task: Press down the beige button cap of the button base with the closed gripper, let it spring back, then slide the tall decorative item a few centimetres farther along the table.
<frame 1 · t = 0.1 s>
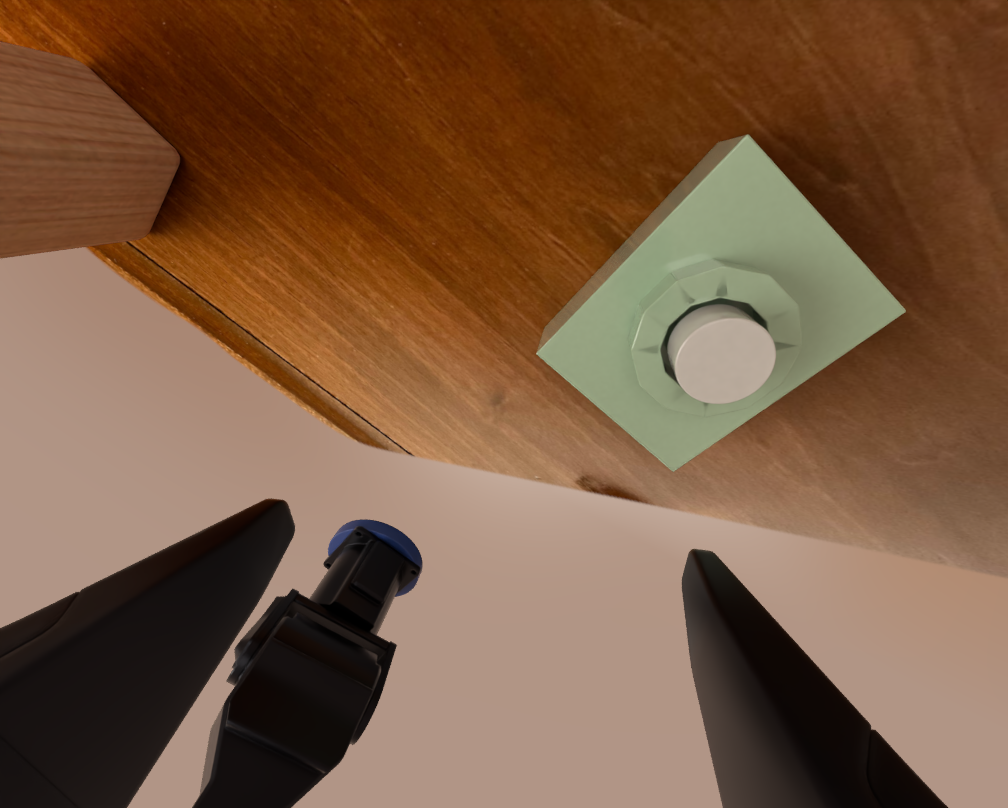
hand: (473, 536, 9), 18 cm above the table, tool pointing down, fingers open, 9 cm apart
button base: (685, 310, 23), on the table
beige button cap: (717, 354, 17), point 7 cm above the table, slide at 0.1 cm
decorative item: (123, 157, 25), on the table
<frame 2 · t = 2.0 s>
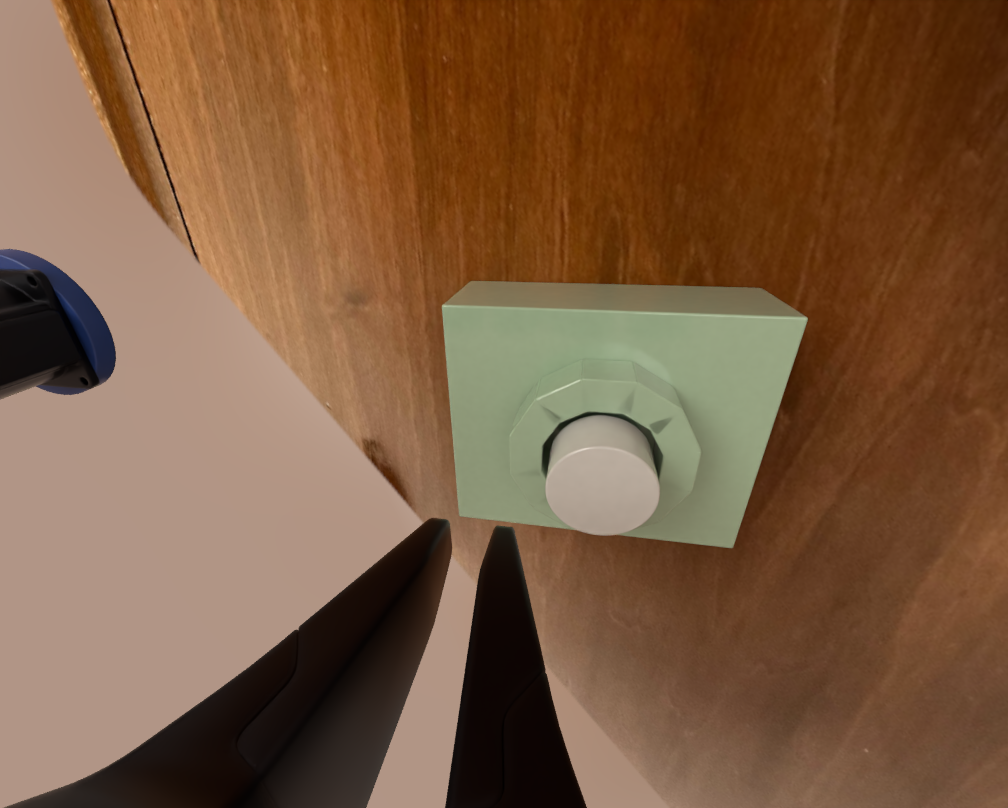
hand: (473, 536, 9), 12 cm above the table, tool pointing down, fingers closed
button base: (597, 390, 20), on the table
beige button cap: (600, 475, 14), point 7 cm above the table, slide at 0.1 cm
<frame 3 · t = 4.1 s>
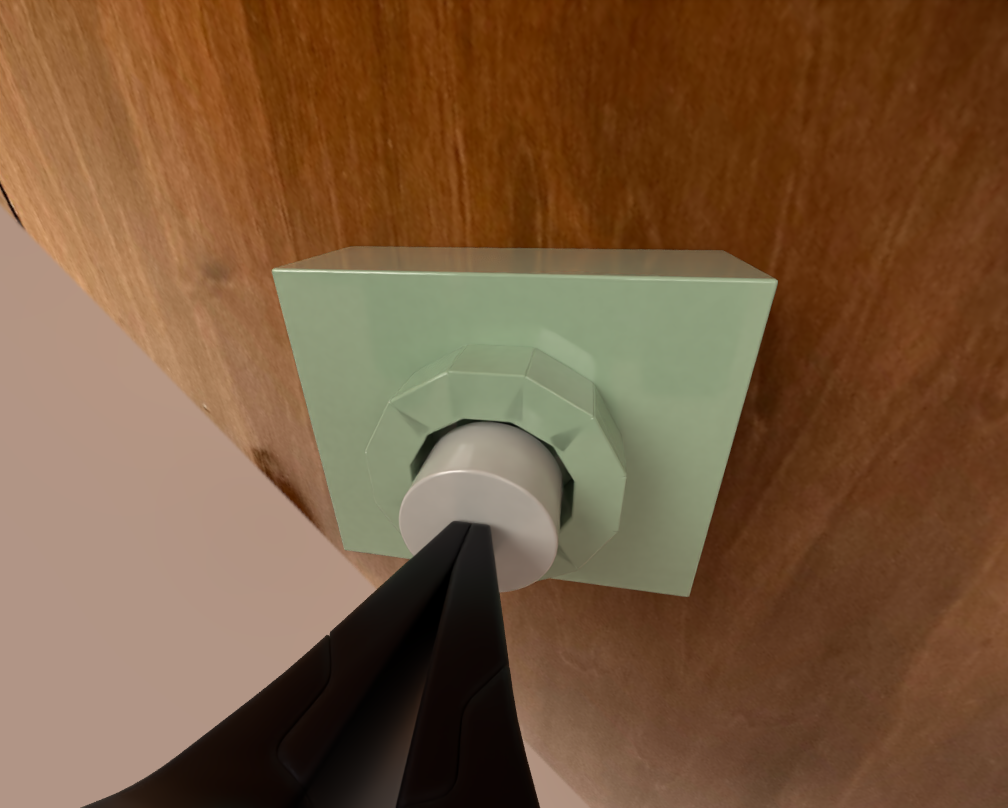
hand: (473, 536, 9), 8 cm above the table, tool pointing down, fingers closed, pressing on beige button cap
button base: (523, 389, 16), on the table
beige button cap: (485, 506, 10), point 7 cm above the table, slide at 0.0 cm, touching gripper
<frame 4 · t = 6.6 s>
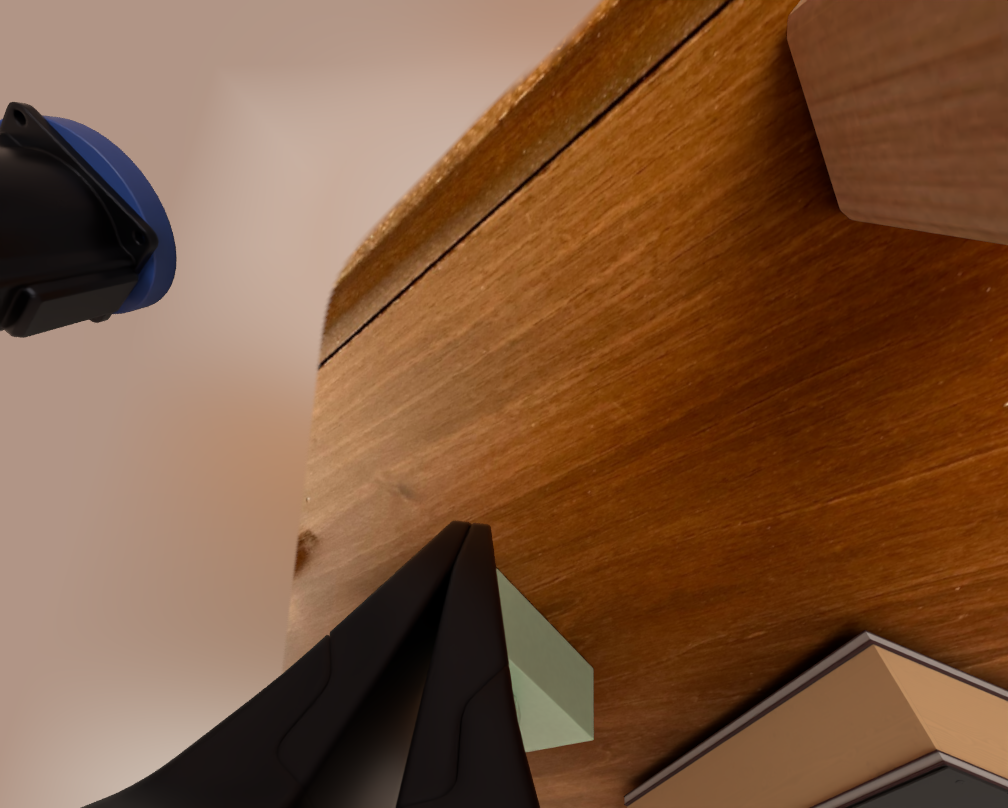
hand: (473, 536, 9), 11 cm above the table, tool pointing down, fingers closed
book: (829, 762, 29), on the table
button base: (481, 633, 29), on the table
decorative item: (927, 58, 12), on the table
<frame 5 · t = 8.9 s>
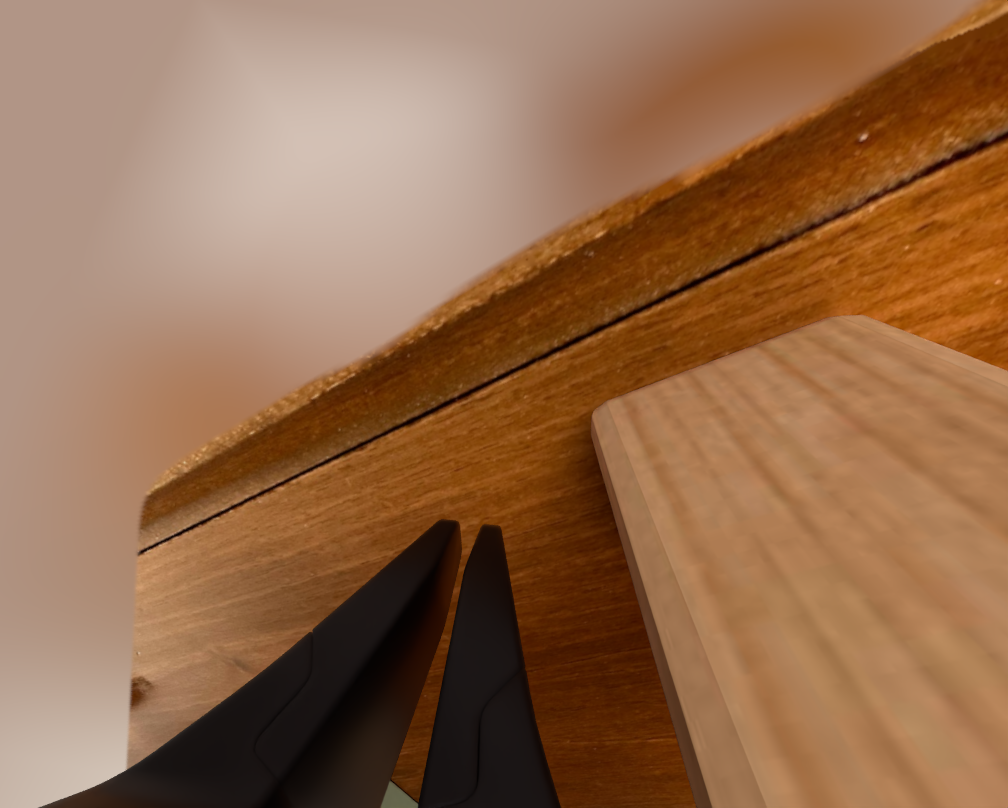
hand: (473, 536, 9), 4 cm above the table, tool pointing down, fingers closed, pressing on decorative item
button base: (327, 780, 28), on the table
decorative item: (729, 450, 12), on the table, touching arm, gripper
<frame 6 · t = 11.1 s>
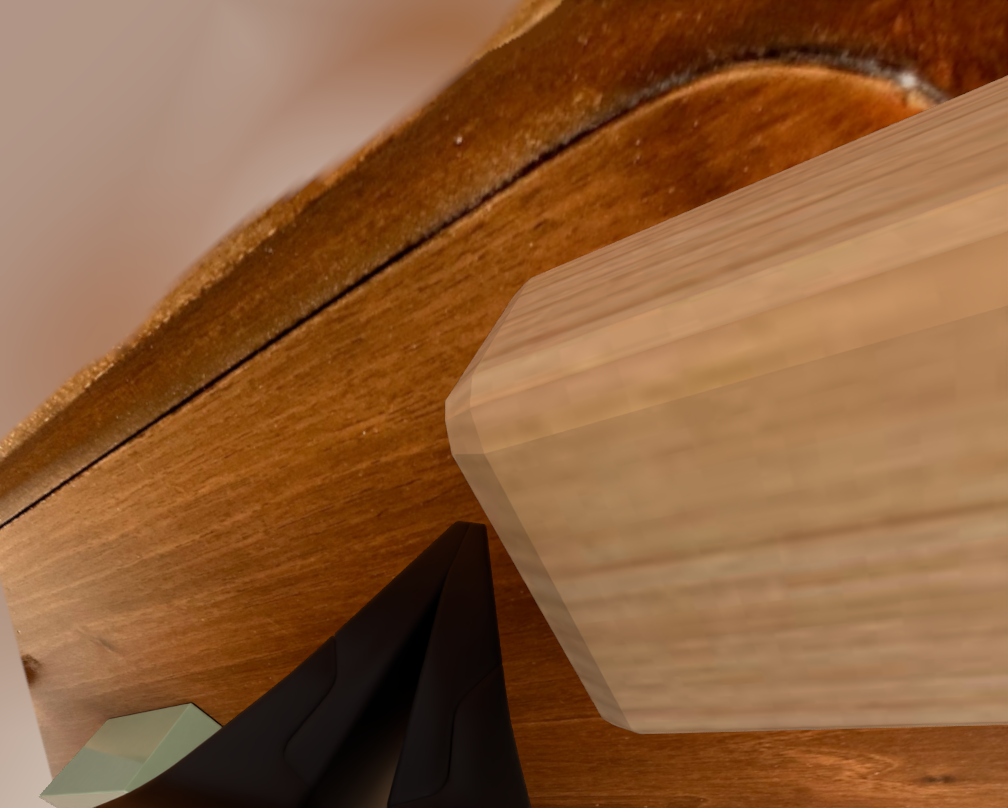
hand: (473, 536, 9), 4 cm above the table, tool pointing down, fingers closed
button base: (214, 761, 29), on the table
decorative item: (537, 475, 9), point 3 cm above the table, touching gripper
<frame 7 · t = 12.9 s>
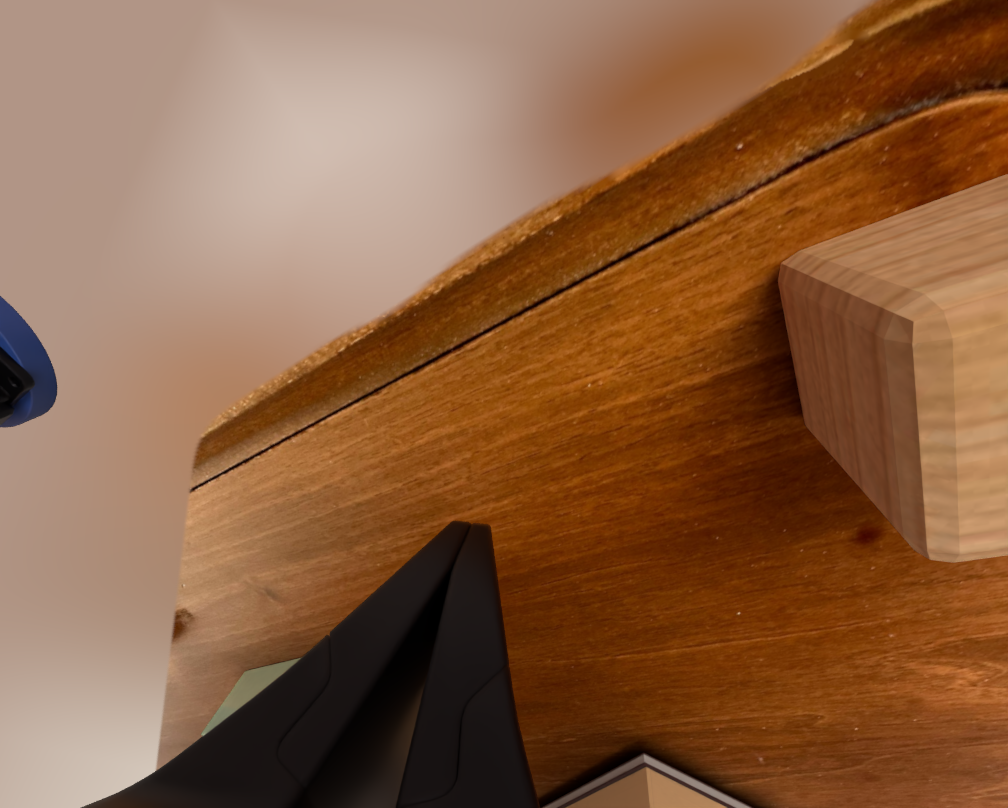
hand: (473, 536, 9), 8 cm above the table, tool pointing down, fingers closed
button base: (342, 708, 32), on the table
decorative item: (824, 396, 12), point 3 cm above the table
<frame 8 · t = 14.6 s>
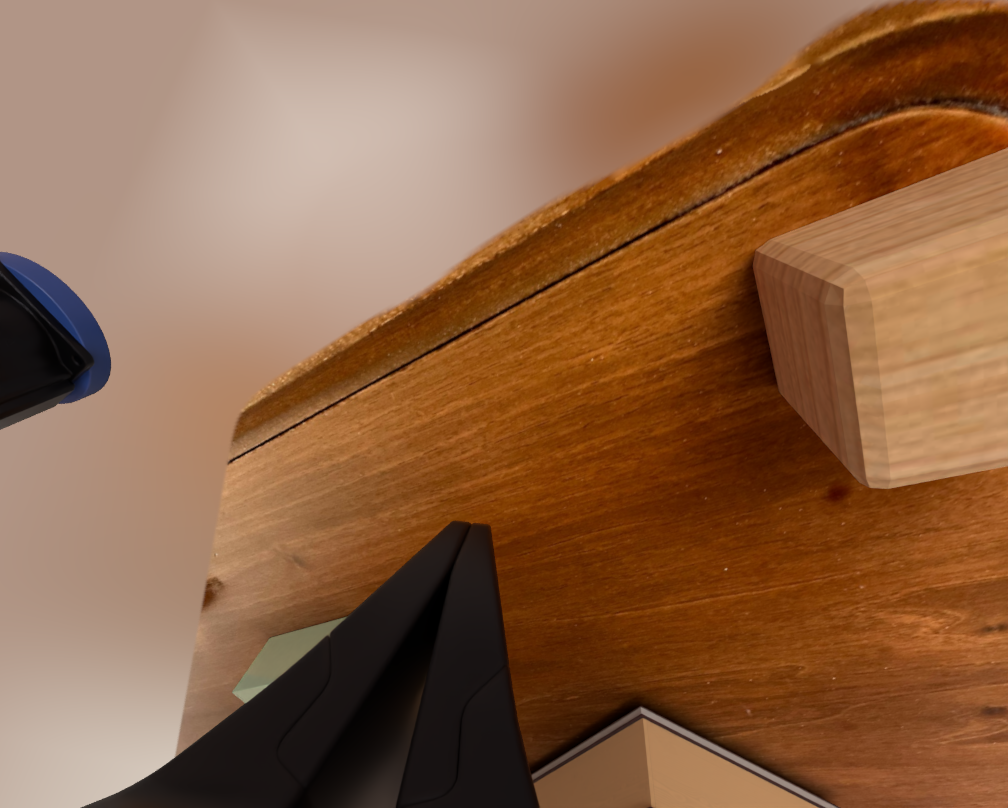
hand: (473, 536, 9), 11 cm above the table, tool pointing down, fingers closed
book: (633, 794, 36), on the table
button base: (360, 672, 34), on the table
decorative item: (789, 360, 14), point 3 cm above the table
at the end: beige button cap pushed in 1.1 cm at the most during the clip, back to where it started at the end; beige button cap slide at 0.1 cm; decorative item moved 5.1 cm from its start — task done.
